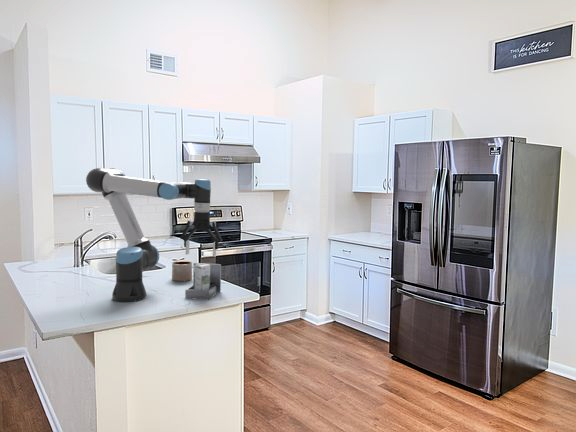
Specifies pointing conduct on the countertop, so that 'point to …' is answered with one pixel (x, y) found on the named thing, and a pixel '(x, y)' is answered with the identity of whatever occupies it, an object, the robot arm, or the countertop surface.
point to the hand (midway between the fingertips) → (200, 255)
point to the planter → (181, 271)
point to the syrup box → (201, 277)
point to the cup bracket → (214, 284)
